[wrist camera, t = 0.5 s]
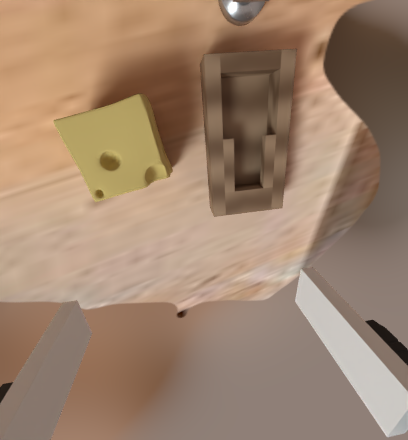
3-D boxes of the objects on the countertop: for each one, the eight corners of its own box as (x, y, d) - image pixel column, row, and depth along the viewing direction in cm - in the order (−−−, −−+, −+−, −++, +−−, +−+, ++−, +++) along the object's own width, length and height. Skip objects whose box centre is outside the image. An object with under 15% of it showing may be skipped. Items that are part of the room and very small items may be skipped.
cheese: (173, 168, 35) (172, 183, 26) (112, 185, 35) (90, 206, 26) (152, 100, 30) (142, 89, 21) (81, 119, 30) (42, 116, 21)
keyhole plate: (199, 64, 29) (204, 54, 25) (280, 59, 30) (296, 48, 26) (210, 207, 39) (214, 216, 35) (271, 199, 40) (282, 208, 36)
